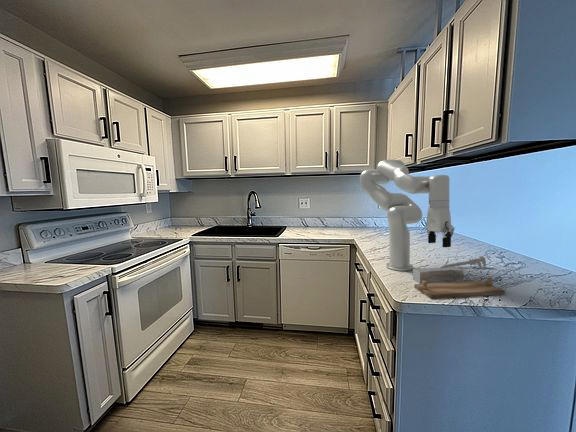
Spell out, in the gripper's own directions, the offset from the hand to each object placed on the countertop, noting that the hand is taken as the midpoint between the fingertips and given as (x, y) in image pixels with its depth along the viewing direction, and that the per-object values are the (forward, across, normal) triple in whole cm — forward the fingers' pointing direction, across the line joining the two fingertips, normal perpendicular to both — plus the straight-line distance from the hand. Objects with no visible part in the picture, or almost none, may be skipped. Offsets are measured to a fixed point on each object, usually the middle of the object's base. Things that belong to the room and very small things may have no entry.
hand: (439, 244), depth 110 cm
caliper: (+16, -17, +23) cm, 33 cm away
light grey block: (+16, -1, 0) cm, 16 cm away
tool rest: (+16, +11, 0) cm, 20 cm away
